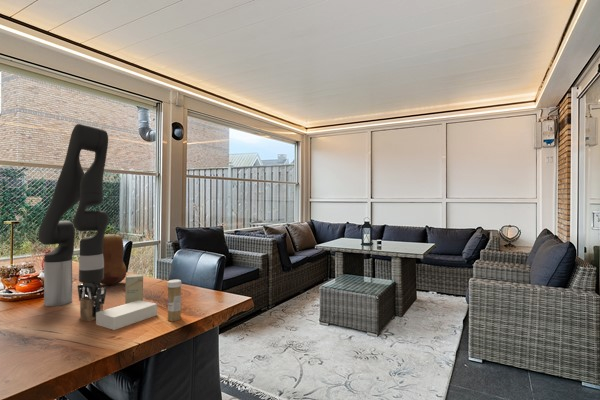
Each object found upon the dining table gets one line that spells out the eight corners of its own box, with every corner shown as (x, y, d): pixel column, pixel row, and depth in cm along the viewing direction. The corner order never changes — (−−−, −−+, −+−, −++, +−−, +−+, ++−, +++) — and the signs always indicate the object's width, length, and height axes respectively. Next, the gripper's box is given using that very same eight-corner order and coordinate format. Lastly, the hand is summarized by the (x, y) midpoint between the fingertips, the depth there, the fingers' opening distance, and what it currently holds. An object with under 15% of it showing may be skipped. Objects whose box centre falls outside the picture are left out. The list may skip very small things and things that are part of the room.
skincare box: (125, 309, 126) (125, 277, 126) (125, 306, 130) (125, 275, 130) (143, 307, 129) (143, 275, 129) (143, 304, 133) (143, 273, 133)
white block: (96, 324, 111) (96, 312, 111) (139, 310, 125) (139, 299, 125) (114, 330, 106) (114, 317, 106) (157, 314, 120) (157, 303, 120)
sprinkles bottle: (164, 319, 116) (164, 280, 116) (177, 316, 119) (177, 278, 119) (171, 322, 112) (171, 282, 113) (183, 319, 116) (183, 280, 116)
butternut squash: (121, 279, 174) (121, 232, 174) (130, 284, 164) (130, 233, 164) (90, 284, 164) (90, 234, 164) (98, 289, 154) (98, 236, 154)
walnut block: (80, 318, 116) (80, 298, 116) (94, 314, 121) (94, 295, 121) (88, 321, 114) (88, 300, 114) (102, 316, 118) (102, 297, 118)
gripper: (114, 267, 117) (114, 315, 117) (91, 263, 124) (91, 309, 124) (92, 271, 111) (92, 322, 111) (69, 267, 118) (69, 315, 118)
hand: (91, 315), depth 117 cm, fingers closed on walnut block, 5 cm apart
